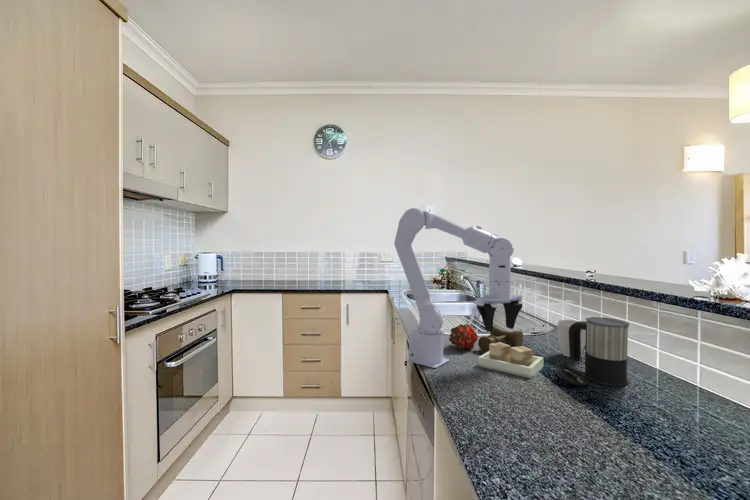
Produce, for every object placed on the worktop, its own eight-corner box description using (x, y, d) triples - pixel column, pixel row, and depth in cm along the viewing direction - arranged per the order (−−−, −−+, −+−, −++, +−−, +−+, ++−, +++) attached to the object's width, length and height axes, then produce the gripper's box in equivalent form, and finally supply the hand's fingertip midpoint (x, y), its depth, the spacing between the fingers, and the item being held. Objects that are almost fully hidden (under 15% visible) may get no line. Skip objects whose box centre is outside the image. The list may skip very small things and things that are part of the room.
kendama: (470, 350, 115) (503, 337, 128) (498, 358, 107) (529, 344, 120) (471, 332, 114) (503, 321, 127) (498, 339, 107) (529, 326, 120)
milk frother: (632, 379, 88) (632, 320, 88) (620, 400, 77) (620, 332, 77) (569, 366, 98) (569, 312, 98) (550, 382, 87) (550, 322, 87)
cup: (592, 360, 102) (592, 326, 102) (561, 359, 104) (561, 325, 104) (581, 352, 110) (582, 320, 110) (553, 350, 112) (553, 319, 111)
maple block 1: (499, 365, 97) (499, 347, 97) (489, 361, 100) (489, 343, 100) (510, 363, 98) (510, 345, 98) (499, 359, 102) (500, 342, 102)
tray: (478, 366, 98) (478, 357, 98) (493, 356, 107) (493, 348, 107) (531, 378, 89) (531, 368, 89) (543, 366, 98) (543, 357, 98)
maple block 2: (520, 370, 93) (520, 351, 93) (510, 365, 97) (510, 347, 97) (532, 368, 94) (532, 350, 94) (522, 364, 98) (522, 346, 98)
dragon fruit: (454, 358, 110) (466, 353, 120) (477, 344, 107) (487, 341, 117) (440, 333, 114) (453, 331, 124) (462, 320, 110) (473, 318, 120)
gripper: (508, 278, 106) (508, 323, 106) (469, 280, 100) (469, 328, 100) (527, 280, 99) (527, 329, 99) (486, 283, 93) (486, 334, 94)
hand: (499, 329), depth 99 cm, fingers open, 7 cm apart
